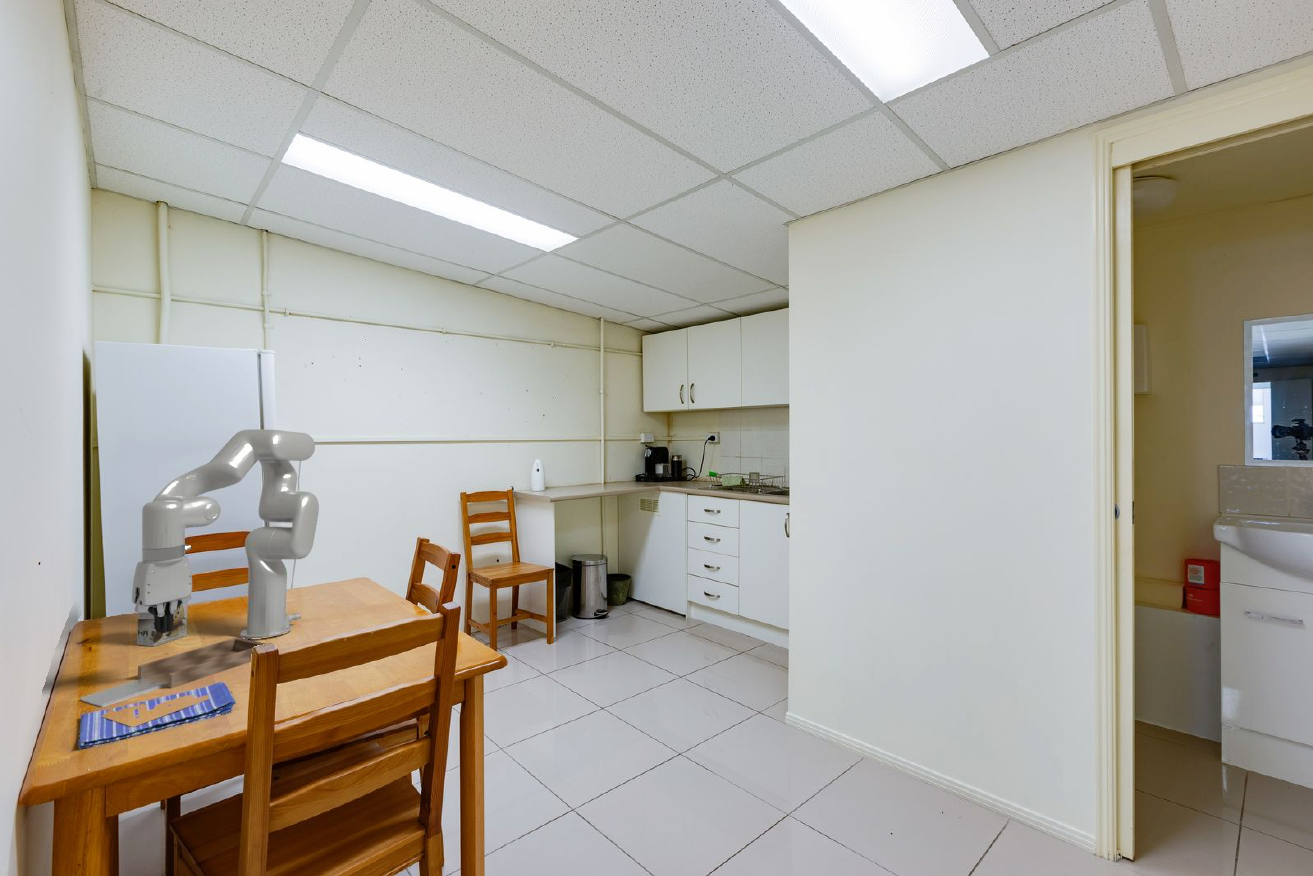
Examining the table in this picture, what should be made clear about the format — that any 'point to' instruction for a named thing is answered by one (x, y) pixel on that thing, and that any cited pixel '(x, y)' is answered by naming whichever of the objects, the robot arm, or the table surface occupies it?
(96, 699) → the cover plate
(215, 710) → the dish towel
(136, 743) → the table surface
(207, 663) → the walnut box
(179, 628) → the cookie box
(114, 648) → the table surface
